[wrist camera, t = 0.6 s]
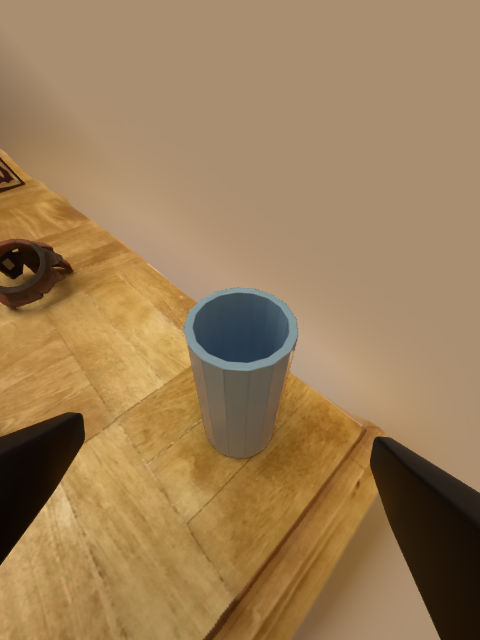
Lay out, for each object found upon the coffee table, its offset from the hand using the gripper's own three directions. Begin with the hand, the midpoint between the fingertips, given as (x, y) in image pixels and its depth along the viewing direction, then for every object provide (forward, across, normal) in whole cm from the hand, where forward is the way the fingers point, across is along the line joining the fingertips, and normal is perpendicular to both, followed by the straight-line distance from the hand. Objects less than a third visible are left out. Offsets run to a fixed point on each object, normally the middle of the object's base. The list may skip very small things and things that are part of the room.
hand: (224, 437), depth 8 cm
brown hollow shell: (+29, +30, 0) cm, 42 cm away
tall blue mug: (+16, 0, +8) cm, 18 cm away
